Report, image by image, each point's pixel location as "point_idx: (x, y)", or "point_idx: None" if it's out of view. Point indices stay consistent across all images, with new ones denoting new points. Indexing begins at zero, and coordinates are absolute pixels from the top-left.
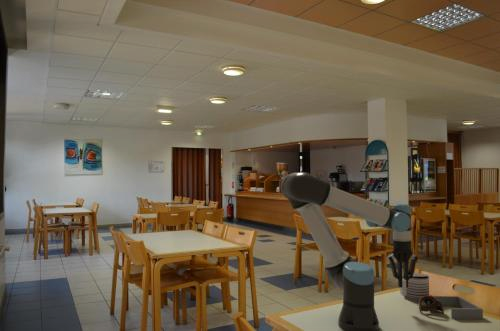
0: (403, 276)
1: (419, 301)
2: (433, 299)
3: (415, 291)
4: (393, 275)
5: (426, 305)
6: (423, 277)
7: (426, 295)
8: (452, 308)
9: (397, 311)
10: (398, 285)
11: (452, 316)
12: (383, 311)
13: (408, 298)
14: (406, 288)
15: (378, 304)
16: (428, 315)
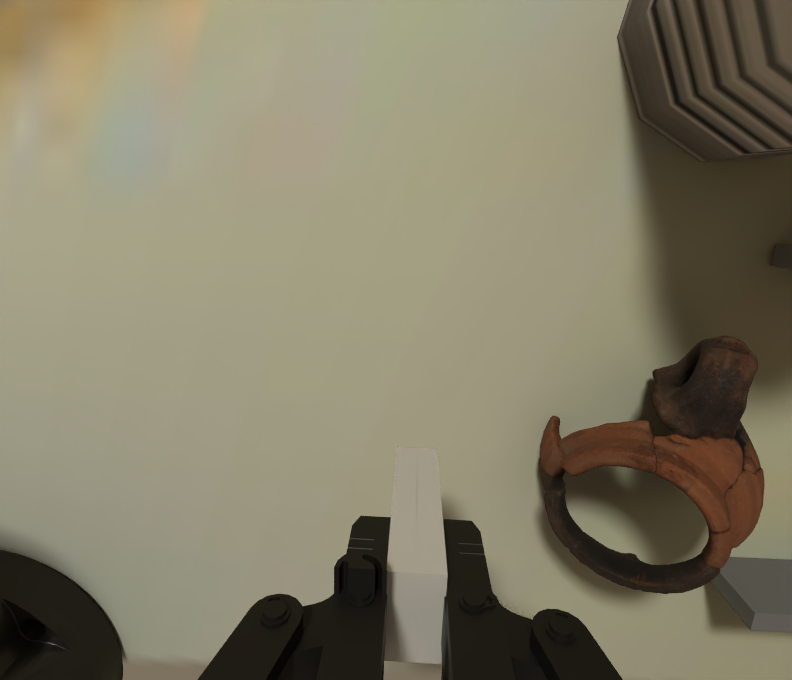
0: (448, 616)
1: (568, 470)
2: (738, 458)
3: (746, 123)
4: (239, 638)
5: (577, 552)
6: None
7: (686, 476)
8: (762, 617)
9: (364, 403)
10: (352, 537)
11: (713, 583)
12: (248, 399)
13: (639, 77)
14: (691, 4)
15: (263, 212)
16: (569, 496)
